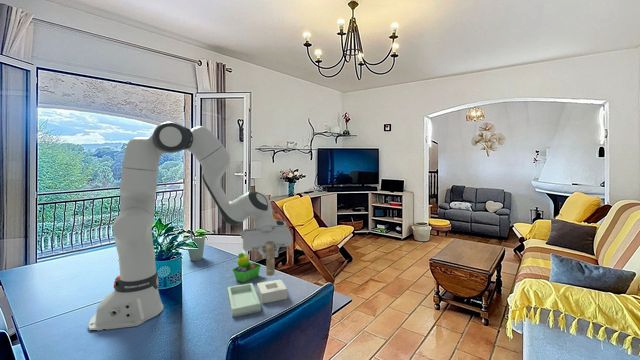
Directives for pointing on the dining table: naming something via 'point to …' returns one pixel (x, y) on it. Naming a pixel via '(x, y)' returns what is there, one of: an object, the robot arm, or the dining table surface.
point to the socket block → (271, 291)
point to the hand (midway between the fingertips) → (270, 257)
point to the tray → (243, 300)
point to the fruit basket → (245, 268)
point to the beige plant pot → (197, 253)
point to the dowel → (270, 258)
